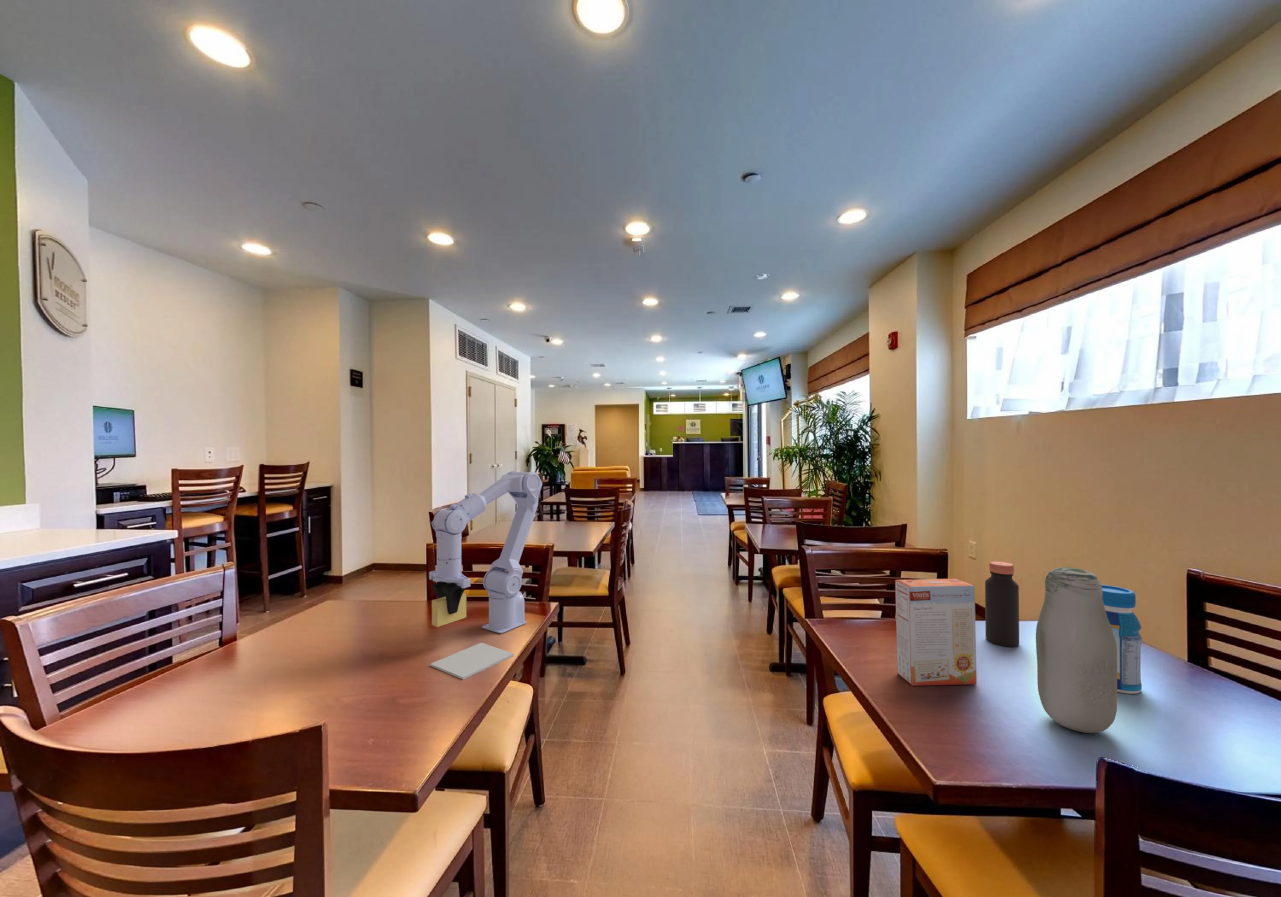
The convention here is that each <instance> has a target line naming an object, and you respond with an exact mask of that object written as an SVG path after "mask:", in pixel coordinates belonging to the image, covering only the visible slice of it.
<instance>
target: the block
mask: <svg viewBox="0 0 1281 897" xmlns="http://www.w3.org/2000/svg"><path fill="white" fill-rule="evenodd" d="M465 618H467V593H465V592H463V594H462V597H461V599H460V603H459V607H458V611H457V612H456V613H453V614H448V610H447V601H446V597H442V598H439V599H438V598H436V599H432V600H431V626H433V627H437V628H438V627H442V626H444V625H447V624H451V623H454V622H457V621H459V620H463V619H465Z"/></svg>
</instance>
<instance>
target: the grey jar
mask: <svg viewBox="0 0 1281 897" xmlns="http://www.w3.org/2000/svg"><path fill="white" fill-rule="evenodd" d="M1044 579H1045V580H1044V588H1045V591H1044V598H1043V599H1044V601H1043V604H1042V606H1041V609H1040V612H1039V615H1038V616H1039V617H1038V620H1037V623H1036V628H1035V649H1036V650H1035V652H1036V664H1037V668H1036V670H1037V672H1036V673H1037V678H1036V679H1037V682H1036V683H1037V692H1038V695H1039V700H1040V703H1041V705H1042V708H1043V710H1044V712H1045V713H1046V715H1048V716H1049V717H1050V719H1052V720H1053V721H1054V722H1056V724H1059V725H1061V726H1062V727H1065V728H1066V729H1069V730H1073V731H1076V732H1081V733H1086V734H1096V733H1102V732H1104V731H1105V730H1107V729H1109V728H1110V727H1111V726H1112V725H1113V723H1114V722H1115V719H1116V716H1117V711H1118V692H1117V645H1116V641H1115V637H1114V634H1113V631H1112V628H1111V626H1110V623H1109V621H1108V618H1107V615H1106V611H1105V607H1104V603H1103V600H1102V595H1103V590H1102V586H1101V585H1102V584H1101V582H1100V579H1099V577H1098V576H1097V575H1096V574H1094V573H1093V572H1091V571H1089V570H1085V569H1082V568H1077V567H1069V566H1068V567H1066V566H1064V567H1063V566H1062V567H1057V568H1053V569H1051V570H1050V571H1049V572H1048V573H1047V574H1046V577H1045V578H1044Z"/></svg>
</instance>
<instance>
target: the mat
mask: <svg viewBox="0 0 1281 897" xmlns="http://www.w3.org/2000/svg"><path fill="white" fill-rule="evenodd" d="M514 656H515V653H513V652H510V651H507V650H505V649H501V648H498V647H495V646H492V645H489V644H487V643H484V642H479V643H477V644H474V645H472V646H469V647H468V648H464V649H463V650H460V651H457V652H455V653H453V654H450V655H449V656H446V657H444V658H441V659H438V660H436V661H434V662H432V663H430V667H432V668H435V669H437V670H439V671H442V672H444V673H446V674H449V675H451V676H454V677H456V678H458V679H460V680H462V681H463V680H465V679H468V678H470V677H472V676H474V675H476V674H479V673H480V672H483V671H485V670H487V669H489V668H492V667H493V666H495V665H497V664H499V663H501V662H504V661H507V660H508V659H510V658H512V657H514Z"/></svg>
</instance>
